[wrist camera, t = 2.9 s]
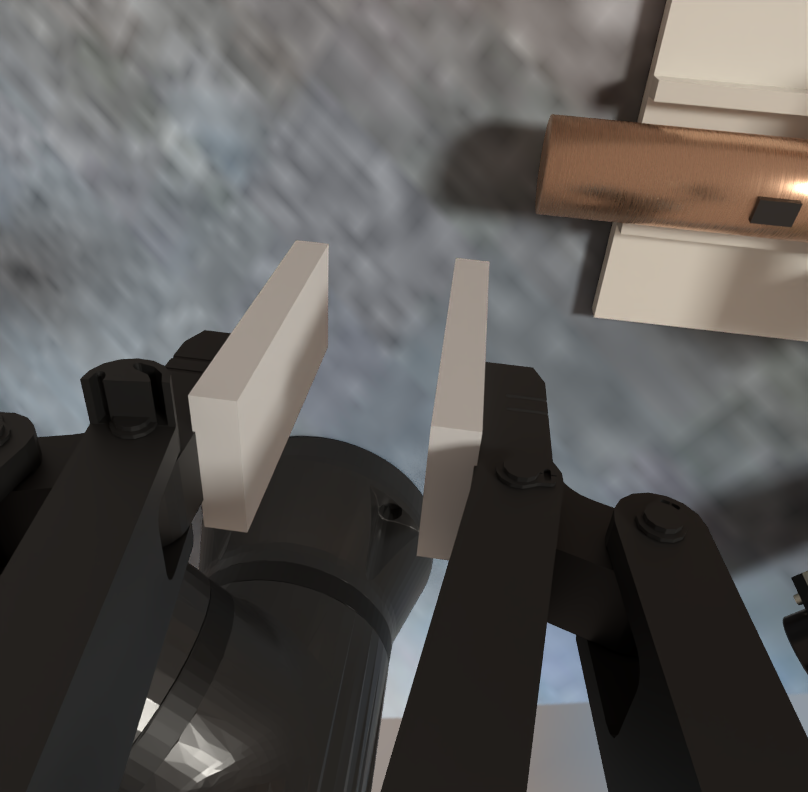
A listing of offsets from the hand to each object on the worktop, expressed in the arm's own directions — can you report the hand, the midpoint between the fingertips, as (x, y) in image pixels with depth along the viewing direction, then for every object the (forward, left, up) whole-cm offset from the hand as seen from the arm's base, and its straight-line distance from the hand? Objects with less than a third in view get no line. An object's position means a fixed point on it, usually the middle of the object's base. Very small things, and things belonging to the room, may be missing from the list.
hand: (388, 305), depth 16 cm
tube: (+14, 0, -18) cm, 22 cm away
